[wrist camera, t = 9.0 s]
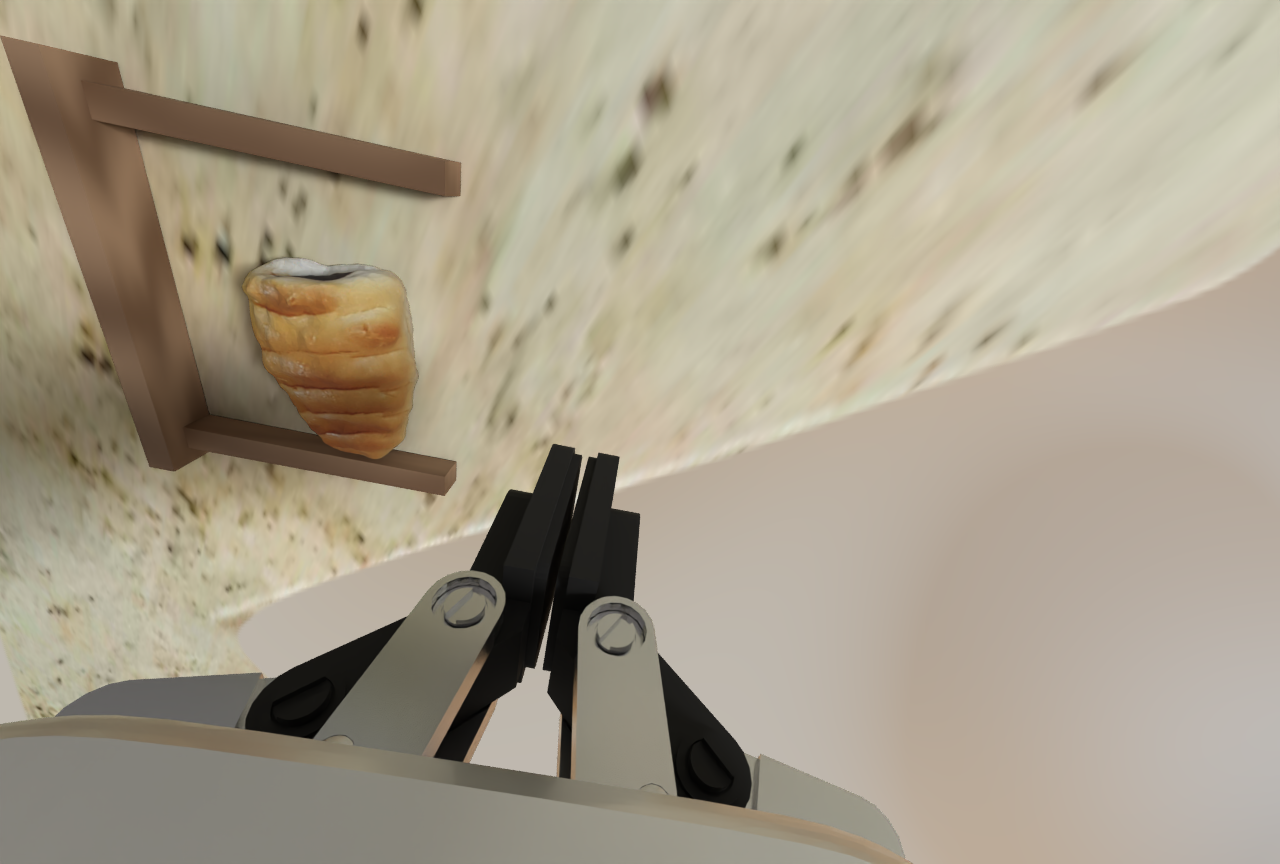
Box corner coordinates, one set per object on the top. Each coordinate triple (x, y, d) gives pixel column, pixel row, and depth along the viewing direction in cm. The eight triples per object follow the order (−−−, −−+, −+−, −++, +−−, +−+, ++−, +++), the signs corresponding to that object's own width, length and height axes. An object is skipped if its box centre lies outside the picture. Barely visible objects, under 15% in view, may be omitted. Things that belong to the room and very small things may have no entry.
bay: (84, 55, 17) (-1, 35, 15) (461, 139, 18) (433, 132, 16) (194, 442, 25) (149, 466, 23) (455, 491, 26) (436, 519, 24)
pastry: (444, 445, 25) (408, 485, 22) (321, 437, 25) (267, 476, 22) (411, 260, 21) (361, 273, 17) (263, 252, 21) (185, 264, 17)
